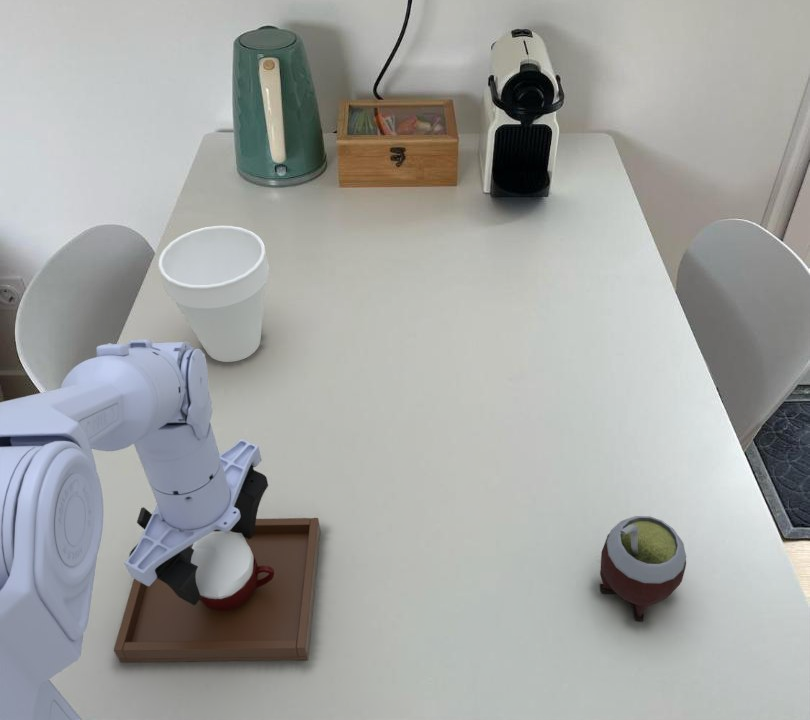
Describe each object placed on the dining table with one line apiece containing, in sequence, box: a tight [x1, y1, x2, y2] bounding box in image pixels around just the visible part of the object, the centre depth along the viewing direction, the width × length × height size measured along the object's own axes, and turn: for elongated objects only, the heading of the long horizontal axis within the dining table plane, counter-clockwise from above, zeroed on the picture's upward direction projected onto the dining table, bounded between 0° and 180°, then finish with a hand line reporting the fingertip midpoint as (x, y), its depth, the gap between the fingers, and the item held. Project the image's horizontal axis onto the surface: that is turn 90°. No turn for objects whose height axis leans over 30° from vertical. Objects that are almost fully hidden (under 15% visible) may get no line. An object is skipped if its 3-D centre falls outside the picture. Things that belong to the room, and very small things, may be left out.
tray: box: [113, 517, 322, 663], centre depth 75 cm, size 17×14×2 cm
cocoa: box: [136, 506, 274, 611], centre depth 71 cm, size 10×6×12 cm, turn 67°
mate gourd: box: [599, 515, 687, 623], centre depth 69 cm, size 8×8×15 cm
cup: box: [157, 225, 270, 363], centre depth 97 cm, size 12×12×14 cm
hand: (216, 564), depth 73 cm, fingers open, 7 cm apart
